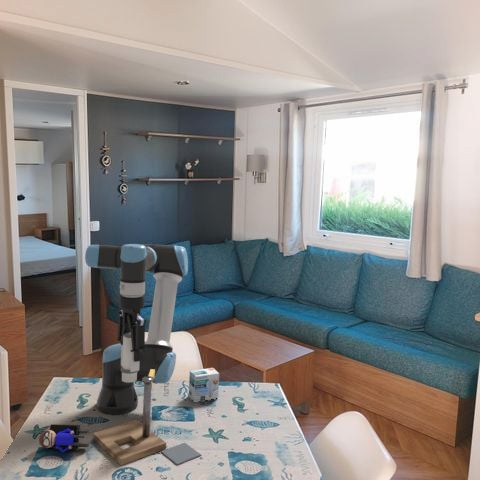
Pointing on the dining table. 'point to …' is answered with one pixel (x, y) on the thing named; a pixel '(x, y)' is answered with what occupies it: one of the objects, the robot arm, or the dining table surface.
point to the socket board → (128, 433)
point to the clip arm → (152, 375)
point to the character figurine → (63, 437)
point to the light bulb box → (203, 384)
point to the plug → (127, 360)
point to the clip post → (147, 405)
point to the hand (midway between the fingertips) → (129, 367)
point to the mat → (180, 453)
